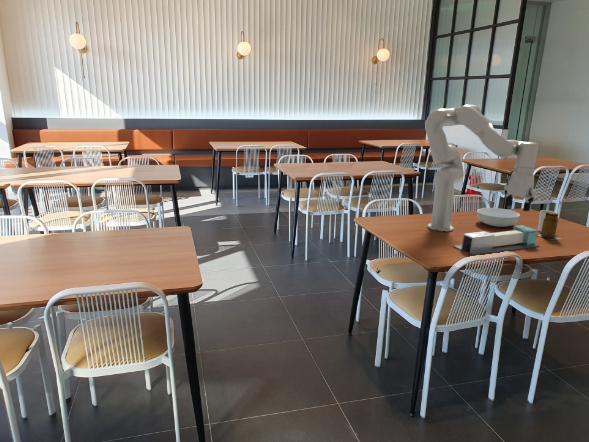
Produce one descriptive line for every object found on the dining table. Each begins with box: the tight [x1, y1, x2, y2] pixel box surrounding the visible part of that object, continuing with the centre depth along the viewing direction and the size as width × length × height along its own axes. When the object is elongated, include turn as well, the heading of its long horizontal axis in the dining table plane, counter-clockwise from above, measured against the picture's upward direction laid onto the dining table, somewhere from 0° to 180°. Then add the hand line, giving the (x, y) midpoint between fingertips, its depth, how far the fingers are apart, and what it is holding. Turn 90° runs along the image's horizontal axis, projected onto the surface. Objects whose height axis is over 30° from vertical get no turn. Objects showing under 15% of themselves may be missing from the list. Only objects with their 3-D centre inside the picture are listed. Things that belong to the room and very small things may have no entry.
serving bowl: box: [476, 207, 521, 228], centre depth 232 cm, size 21×21×7 cm
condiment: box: [537, 211, 562, 241], centre depth 212 cm, size 7×8×12 cm
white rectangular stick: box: [489, 230, 525, 247], centre depth 198 cm, size 24×4×5 cm, turn 111°
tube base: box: [452, 224, 540, 256], centre depth 197 cm, size 39×12×7 cm, turn 111°
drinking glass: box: [537, 209, 556, 232], centre depth 223 cm, size 7×7×10 cm
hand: (517, 208), depth 196 cm, fingers open, 9 cm apart
